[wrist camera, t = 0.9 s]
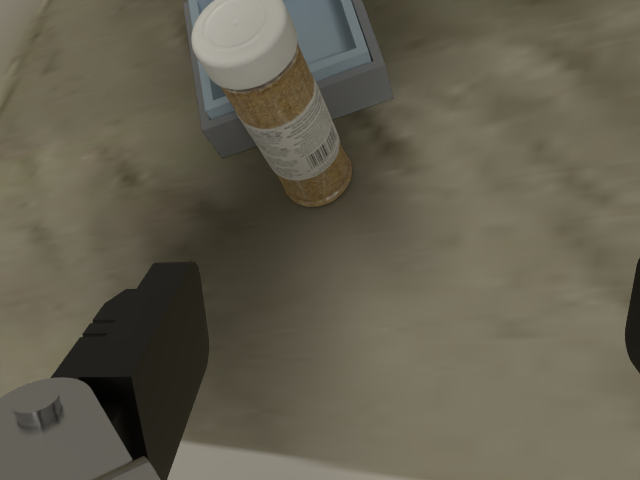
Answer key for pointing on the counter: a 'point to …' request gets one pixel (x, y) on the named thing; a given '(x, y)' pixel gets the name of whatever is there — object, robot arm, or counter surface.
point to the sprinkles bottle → (273, 95)
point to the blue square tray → (321, 57)
